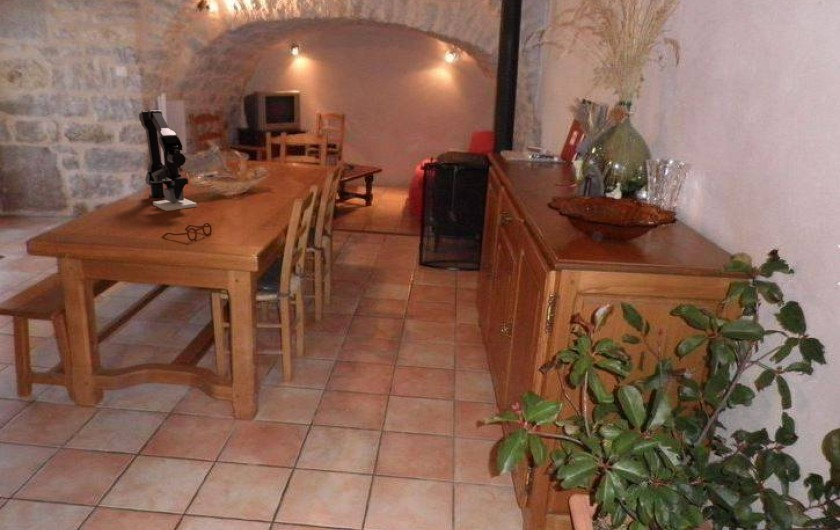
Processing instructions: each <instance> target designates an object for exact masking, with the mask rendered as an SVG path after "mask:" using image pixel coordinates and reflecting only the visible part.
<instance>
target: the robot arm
mask: <svg viewBox="0 0 840 530" xmlns="http://www.w3.org/2000/svg"><path fill="white" fill-rule="evenodd" d="M138 118H139V121H140V123H141V126H142V128H143V129H144V130H145V131H146V140H147V146H148V147H147V148H148V156H149V165H148V166H147V172H146V175H145V184H147V185H148V186H150V194H148V196H149V197H151V198H153V199H158V198H165V194H164V189H165V187H166V188H174V192H175V197H176V199H179V197H180V195H181V192H182V190H183V191H184V187H185V186H186V185H189V179H188V178H187V177H184V176H182V174H181V173H180V168H181V167H182V166H184V165H185V163H186V161H187V160H186V156H185V155H184V153H181V151H183V144H182V141H181V139H180V137H179V136H178V135H177V133H176V132H175V131H174V130H172V129H170V127H169V126H168V124H167V122H166V120H165V118H164V116H163V112H162V110H159V109H150V110H142V111H141V112H140V113H139V114H138ZM158 134H159V136H158ZM159 145H160V146H159ZM160 148H161V149H162V152H163V161H164V162H163V163H164V164H163V163H162V161H161V154H160V153H161V152H160ZM164 185H165V186H164Z"/></svg>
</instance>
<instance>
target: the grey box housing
mask: <svg viewBox="0 0 840 530" xmlns="http://www.w3.org/2000/svg"><path fill="white" fill-rule="evenodd" d="M164 194H165V197H164V200H167V201H170V202H174V201H182V200H184V198H185V197H184V196H185V195H184V189H183V190H182V192H181V195H180V197H179V199H176V197H175V192H174V188H165V187H164Z"/></svg>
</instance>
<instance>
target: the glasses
mask: <svg viewBox="0 0 840 530" xmlns="http://www.w3.org/2000/svg"><path fill="white" fill-rule="evenodd" d="M193 227H194V228H193ZM205 228H209V232H208V233H206V231H205ZM191 230H192V231H193V232H194V237H193V238H191V237H190V231H191ZM201 230H202V232H203V235H205V236H209V235H211V234H212V232H213V231H212V230H213V229H212V225H211V224H210V223H209V222H205V223H203V225H194V224H189V225H187V226H186V228H184V231H186V232H180V233H179V232H178V233H174V232H166V233H165V234H163V235H162V236H161V238H165V237H166V236H168V235H172V236H174V237H175V236H184V235H185V236H186V235H187V238H188V240H189V241H191V242H194V241H196V240H197V238H198V234H197V232H198V231H201ZM193 240H194V241H193Z"/></svg>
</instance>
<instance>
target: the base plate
mask: <svg viewBox="0 0 840 530" xmlns="http://www.w3.org/2000/svg"><path fill="white" fill-rule="evenodd" d="M152 205H153V206H154V207H157V208H159V209H161V210H163V211H166V212H167V211H168V212H169V211H175V210H182V209H189V208H197V207H198V203H197V202H194V201H192V200H190V199H187V198H185V197H184V200H182V201H174V202H170V201H167V200H165V199H164V200H157V201H155V200H154V201H152Z"/></svg>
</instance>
